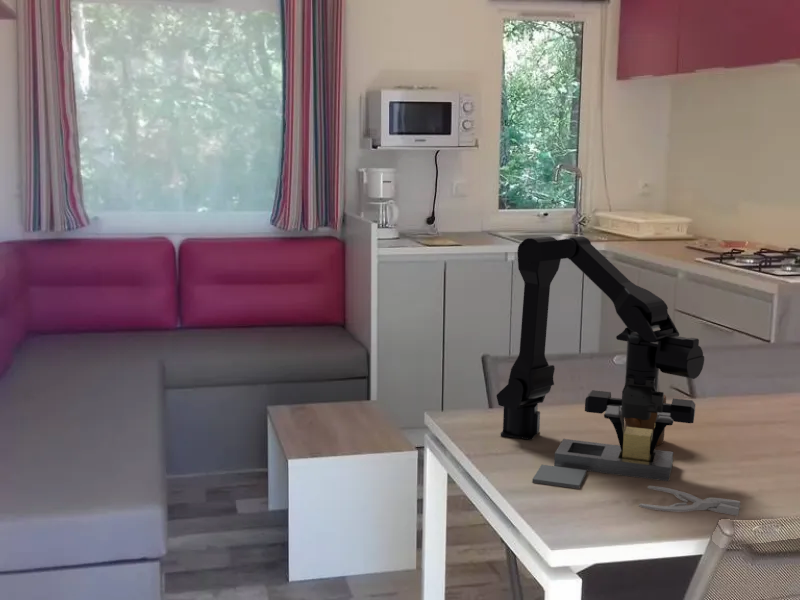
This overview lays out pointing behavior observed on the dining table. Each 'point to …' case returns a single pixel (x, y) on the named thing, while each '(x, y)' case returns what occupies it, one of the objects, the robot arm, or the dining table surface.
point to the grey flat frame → (611, 460)
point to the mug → (645, 424)
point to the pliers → (696, 503)
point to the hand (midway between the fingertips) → (637, 452)
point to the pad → (559, 476)
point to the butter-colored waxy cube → (637, 444)
